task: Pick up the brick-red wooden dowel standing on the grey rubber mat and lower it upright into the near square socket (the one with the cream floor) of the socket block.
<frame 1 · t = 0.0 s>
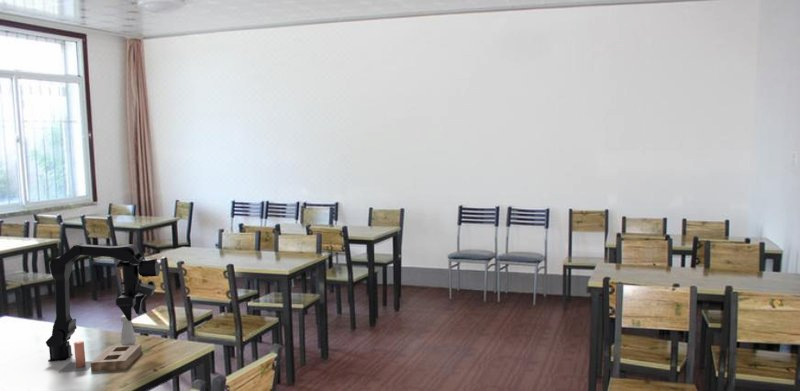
hand: (133, 317, 238), 15 cm above the table, fingers open, 9 cm apart
socket block: (117, 362, 231), on the table
mat: (78, 367, 227), on the table
salt shaker: (128, 347, 249), on the table
peg: (80, 366, 227), resting on mat
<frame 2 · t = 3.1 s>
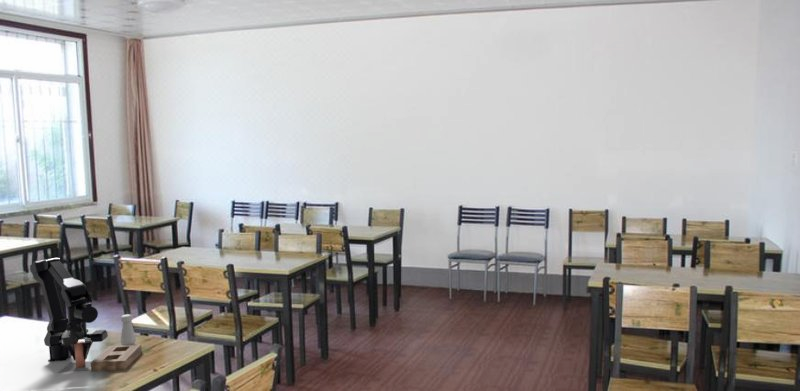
hand: (80, 359, 227), 3 cm above the table, fingers closed on peg, 3 cm apart
peg: (80, 366, 227), resting on mat, touching gripper
everything else where it was.
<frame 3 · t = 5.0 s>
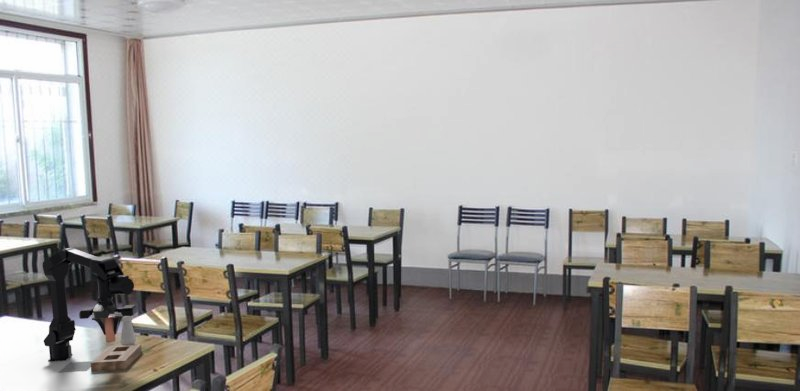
hand: (110, 334, 225), 12 cm above the table, fingers closed on peg, 3 cm apart
peg: (110, 341, 226), point 10 cm above the table, touching gripper
everything else where it was.
when the fingers open (4 cm above the table, at t = 7.0 s): peg drops 1 cm, resting on socket block.
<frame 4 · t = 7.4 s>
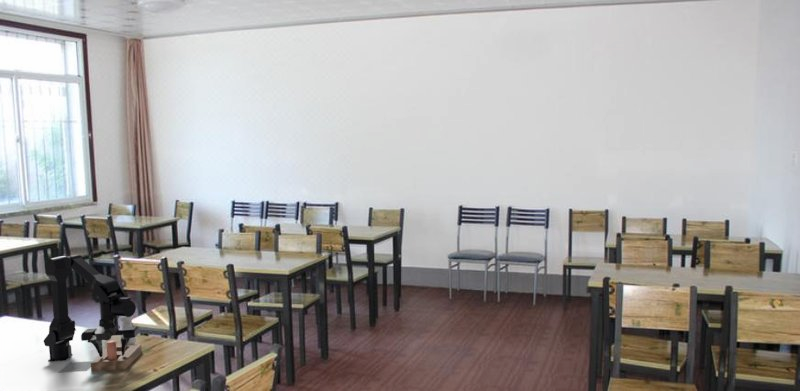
hand: (112, 356, 226), 4 cm above the table, fingers open, 7 cm apart
peg: (112, 365, 226), resting on socket block
everything else where it was.
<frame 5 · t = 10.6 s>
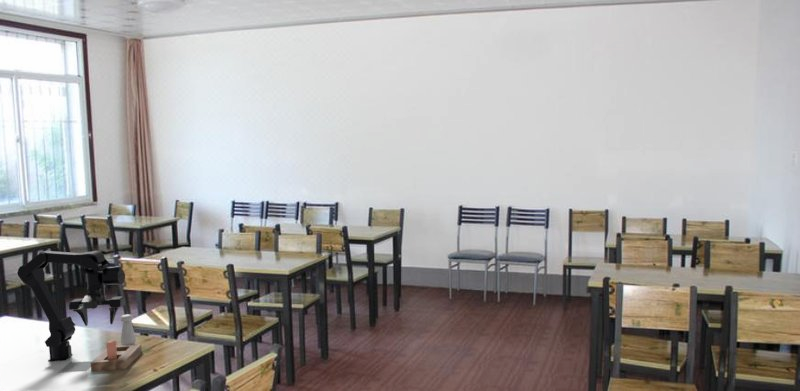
hand: (99, 324, 235), 13 cm above the table, fingers open, 9 cm apart
nothing on the table moved.
at the end: peg 0.1 cm from the target spot on the socket block, point 0.3 cm above the socket block's base; peg tilted 1°; the gripper is holding nothing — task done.
